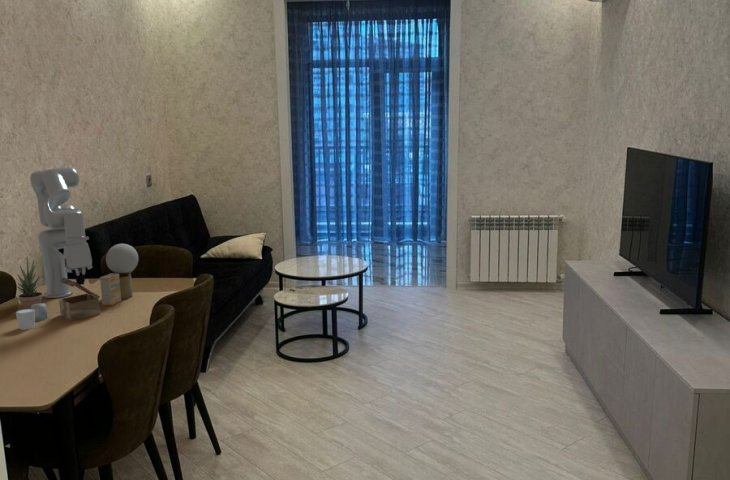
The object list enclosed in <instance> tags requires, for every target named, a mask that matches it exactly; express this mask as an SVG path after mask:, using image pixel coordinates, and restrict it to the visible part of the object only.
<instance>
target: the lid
mask: <svg viewBox="0 0 730 480" xmlns="http://www.w3.org/2000/svg"><path fill="white" fill-rule="evenodd" d="M60 282H62V283H65V284H67V285H68V287H69V286H70V287H73V288H74V287H75V288H78V289H79V290H81V291H82V292H84V293H85V294H89V295H92V296H94V297H97V298H99V299H100V296H99V295H98V294H97V293H94V292H93V291H91V290H90V289H88V288H87V287H85V286H84V285H80V284H78V283H77V282H76V281H74V280H71V279H68V278H67V279H66V278H62V280H61V281H60Z"/></svg>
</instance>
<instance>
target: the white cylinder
mask: <svg viewBox="0 0 730 480" xmlns="http://www.w3.org/2000/svg"><path fill="white" fill-rule="evenodd" d="M15 316H16V320H17V325H18V329H19V330H20V329H21V331H27V330H26V329H28V330H32V329H34V328H35V327H36V321H35V310H34V309H23V308H22V309H20V310H17V311H15ZM31 328H32V329H31Z"/></svg>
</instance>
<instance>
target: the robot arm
mask: <svg viewBox="0 0 730 480" xmlns="http://www.w3.org/2000/svg"><path fill="white" fill-rule="evenodd" d="M29 178H30V185H31V188H32V189H33V191H34V193H35V195H36V199H37V208H38V214H39V221H40V223H41V225H42V226H43V227H46V228H47V227H49V229H46V230H42V231H41V232H40V233H39V234H38V243H39V246H40V251H41V254H42V262H43V268H44V271H43V272H44V276H45V280H44V281H45V287H46V292H44V293H43V298H45V299H57V298H59V299H60V298H66V297H69V296H71V295H72V294H73V290H72V289H69V285H67V284H65V283H62V282H60V281H61V280H62V278H66V279H68V273H72V274H73V275H75V282H76V283H78V284H80V285H81V286H83V285H84V284H85V281H86V279H85V274H86V273H87V271H88V270H91V269H93V259H92V254H91V250H90V247H89V243H88V242H87V240H89V239H90V238H89V236H86V231H85V221H84V213H83V212H82V211H81V210H80V209H77V208H75V207H74V206H73V205H72V204H66V203H67V202H68V201H69V200H70V199H71V195H72V194H71V191H70V188H75V187H77V186H78V185H79V183H80V176H79V173H78V171H77V170H76V168H73V167H61V168H59V167H58V168H50V169H45V170H37V171H35V172H32V173H31V174H30V177H29ZM61 249H63V253H62V252H60V251H59V250H61Z"/></svg>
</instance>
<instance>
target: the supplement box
mask: <svg viewBox="0 0 730 480" xmlns="http://www.w3.org/2000/svg"><path fill="white" fill-rule="evenodd" d="M99 281H100V292H101V293H100V294H101V303H102V306H104V307H105V306H106V307H110V306H111V307H112V306H114V305H116V304H118V303H120V302H122V300H121V291H120V280H119V274H118V273H115V272H113V273H108V274H106V275H103V276H100V277H99Z"/></svg>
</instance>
